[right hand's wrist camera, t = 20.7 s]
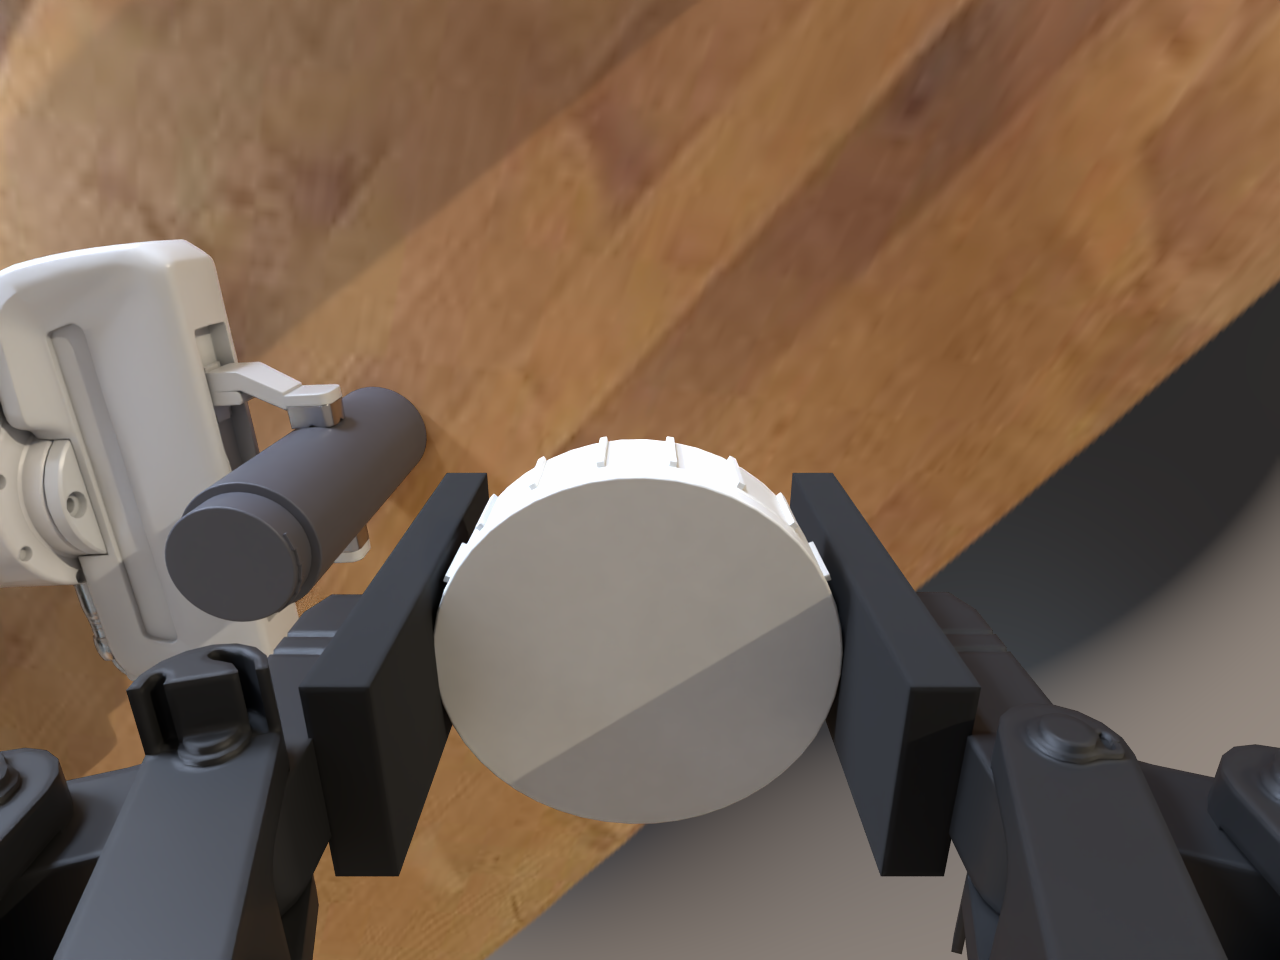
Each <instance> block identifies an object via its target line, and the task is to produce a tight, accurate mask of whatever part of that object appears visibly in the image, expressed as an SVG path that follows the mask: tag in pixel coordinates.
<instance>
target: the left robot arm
mask: <svg viewBox="0 0 1280 960" xmlns="http://www.w3.org/2000/svg"><path fill="white" fill-rule="evenodd" d="M254 397H256V398H258V399H261V400H263V401H265V402H268V403H270V404H272V405H275V406H277V407H279V408H282V409H284V410H286V411H288V415H289V419H290V423H291V427H292V429H302V428H308V427H310V426H311V425H314V426H316V427H321V428H325V427H331V426H334V425H337V424H338V423H339V422H340V420H344V419H345V412H344V406H343V400H342V393H341V389H340V385H337V384H326V385H302V383H301V382H299V381H297V380H295V379H293V378H291V377H289V376H287V375H285V374H283V373H281V372H279V371H277V370H275V369H273V368H271V367H269V366H267V365H265V364H263V363H261V362H241V363H238V360H237V356H236V351H235V347H234V343H233V339H232V335H231V330H230V326H229V322H228V318H227V314H226V309H225V305H224V301H223V297H222V293H221V288H220V284H219V280H218V275H217V270H216V267H215V263H214V261H213V259H212V258H211V257H210V256H209V255H208V254H207V253H205V252H204V251H203V250H201V249H199V248H198V247H196V246H194V245H193V244H191V243H190V242H188V241H186V240H182V239H179V240H161V241H148V242H137V243H128V244H120V245H111V246H103V247H94V248H88V249H82V250H75V251H70V252H65V253H59V254H54V255H50V256H45V257H41V258H37V259H33V260H29V261H25V262H22V263H18V264H15V265H12V266H10V267H7V268H5V269H3V270H1V271H0V588H4V587H31V586H56V585H74V588H75V591H76V593H77V596H78V599H79V602H80V605H81V607H82V610H83V612H84V614H85V615H86V617H87V619H88V621H89V623H90V625H91V628H92V631H93V634H94V635H93V640H94V644H95V647H96V650H97V651H98V653H99V655H100V656H101V657H102V659H103V660H105V661H112V662H113V664H114V665H115V666H116V667H117V668H118V669H119V670H120V671H121V672H123V673H124V674H125V675H127V677H128V678H129V679H130V680H131V681H135V680H136V679H137V677H138V676H139V675H141V674H142V673H144V672H145V671H147V670H148V669H150V668H151V667H153V666H154V665H156V664H158V663H159V662H161V661H163V660H165V659H168V658H170V657H173V656H175V655H177V654H180V653H182V652H185V651H188V650H192V649H196V648H200V647H205V646H209V645H214V644H232V643H238V644H243V645H248V646H253V647H256V648H258V649H259V650H260V651H262V652H263V653H264V654H265V655H267V657H268V656H269V655H270V654H273V653H274V649H275V648H276V646H277V645H278V644H279V643H280V641H281V640H282V639H283V638H284V637H287V633H288V631H289V630H290V629H291V628H292V626H293V625H294V624H295V623H296V621H297V620H298V619H299V616H298V612H297V608H296V604H295V602H294V603H292V604H290V605H288V606H287V607H286V608H284V609H283V610H282V611H281V612H277V613H275V614H273V615H271V616H269V617H266V618H263V619H260V620H256V621H249V622H236V621H229V620H224V619H220V618H217V617H214V616H212V615H209V614H207V613H206V612H204V611H202V610H200V609H199V608H197V607H196V606H194V605H193V604H192V603H190V602H189V601H188V600H187V599H186V598H185V597H184V596H183V595H182V594H181V593H180V592H179V590H178V589H177V588H176V586H175V585H174V583H173V582H172V580H171V578H170V575H169V573H168V570H167V567H166V562H165V545H166V541H167V538H168V535H169V533H170V531H171V529H172V528H173V526H174V525H175V524H176V522H178V521H179V520H180V519H181V517H182V514H183V512H184V510H185V508H186V507H187V505H188V504H189V503H190V501H191V500H192V499H193V498H194V497H195V496H196V495H198V494H199V493H201V492H202V491H203V490H205V489H206V488H208V487H209V486H211V485H212V484H214V483H215V482H217V481H218V480H220V479H221V478H223V477H224V476H226V475H227V474H229V473H230V472H232V471H233V470H235V469H236V468H238V467H239V466H241V465H242V464H244V463H245V462H247V461H249V460H250V459H252V458H253V457H255V456H256V455H258V454H259V453H260V452H259V448H258V444H257V440H256V436H255V431H254V427H253V423H252V419H251V414H250V410H249V406H248V402H247V401H249V400H250V399H252V398H254ZM370 549H371V546H370V541H369V535H368V530H367V525H365V526H364V527H363V528H362V530H361V531H360V532H359V533H358V534H357V535H356V537H355V538H354V539H353V540H352V541H351V543H350V544H349V545H348V546H347V547H346V548H345V550H344V551H343V552H342V553H341V554H340V556H339V557H338V558H337V559H336V560H335V562H334V563H347V562H355V561H358V560H361V559H363V558H364V557H365V555H366V554H367V553H368V551H369V550H370Z"/></svg>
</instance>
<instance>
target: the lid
mask: <svg viewBox="0 0 1280 960" xmlns="http://www.w3.org/2000/svg"><path fill="white" fill-rule="evenodd" d="M830 580H831V577H830V574H829V572H828V570H827V568H826V566H825V564H824V562H823V560H822V558H821V556H820V554H819V552H818V550H817V548H816V546H815V544H814V542H813V541H812V542H809V543H808V541H807V539H806V537H805V535H804V534H803V532H802V530H801V528H800V527H799V525H798V523H797V522H796V520H795V517H794V515H793V513H792V511H791V509H790V507H789V505H788V503H787V501H786V499H785V497H784V496H783V495H782V493H779V494H778V495H777V496H776V495H775V494H774V493H773V492H772V491H771V490H770V489H769V488H768V487H767V486H765V485H764V484H763V483H762V482H761V481H759V480H758V479H757V478H755V477H754V476H753V475H751V474H750V473H748V472H747V471H746V470H744V469H743V468H741V467H739V466H738V463H737V461H736V459H735V458H733V457H731V456H729V458H728V460H726V459H724V458H722V457H720V456H717V455H715V454H712V453H709V452H707V451H704V450H701V449H699V448H695V447H691V446H687V445H682V444H678V443H675V442H674V437H667V438H666V441H657V440H647V439H643V440H617V441H610V442H608V439H607V437H602V438H600V441H599V443H596V444H592V445H589V446H585V447H581V448H578V449H574V450H571V451H568V452H566V453H563V454H561V455H559V456H556V457H554V458H552V459H549V460H546V459H545V457H542V458H540V459H538V462H537V464H536V467H535V468H533V469H532V470H530V471H528V472H527V473H525V474H524V475H523V476H521V477H520V478H519V479H518V480H516V481H515V482H514V483H513V484H511V485H510V486H509V487H507V488H506V490H505V491H504V492H503V493H502V494H501V495H500V496H499V497H498V496H496V495H495V494H493V495H492V496H491V497H490V499H489V501H488V503H487V505H486V507H485V509H484V511H483V513H482V515H481V517H480V519H479V521H478V523H477V525H476V527H475V530H474V532H473V533H472V535H471V537H470V539H469V541H468V543H467V544H465V543H462V544H461V546H460V548H459V550H458V552H457V554H456V555H455V557H454V559H453V561H452V563H451V565H450V567H449V569H448V571H447V573H446V575H445V577H444V580H443V581H444V582H447V585H446V587H445V590H444V592H443V595H442V598H441V601H440V604H439V607H438V610H437V614H436V620H435V626H434V634H433V636H434V647H435V656H436V664H437V673H438V682H439V689H440V696H441V700H442V703H443V705H444V707H445V710H446V712H447V714H448V716H449V718H450V720H451V722H452V724H453V726H454V728H455V729H456V731H457V732H458V734H459V735H460V737H461V738H462V740H463V741H464V743H465V744H466V745H467V746H468V748H469V749H470V750H471V751H472V752H473V753H474V755H475V756H476V757H477V758H478V759H479V760H480V761H481V762H482V763H483V764H484V765H485V766H486V767H487V768H488V769H489V770H491V771H492V772H493V773H494V774H495V775H496V776H497V777H499V778H500V779H501V780H503V781H504V782H506V783H507V784H509V785H510V786H511V787H513V788H514V789H516V790H517V791H519V792H521V793H523V794H525V795H526V796H528V797H530V798H532V799H534V800H535V801H537V802H540V803H542V804H545V805H547V806H549V807H552V808H554V809H557V810H559V811H563V812H566V813H569V814H573V815H576V816H579V817H584V818H589V819H594V820H599V821H605V822H616V823H628V824H640V823H660V822H669V821H677V820H682V819H687V818H691V817H695V816H700V815H704V814H707V813H710V812H713V811H716V810H719V809H722V808H724V807H727V806H729V805H731V804H733V803H735V802H738V801H740V800H742V799H744V798H746V797H748V796H749V795H751V794H753V793H755V792H756V791H758V790H760V789H761V788H763V787H764V786H766V785H767V784H769V783H770V782H771V781H773V780H774V779H775V778H777V777H778V776H779V775H780V774H782V773H783V772H784V771H785V770H786V769H787V768H788V767H789V766H790V765H792V764H793V763H794V762H795V761H796V760H797V759H798V758H799V757H800V756H801V755H802V753H803V752H804V751H805V749H806V748H807V747H808V746H809V744H810V743H811V742H812V740H813V739H814V738H815V736H816V735H817V733H818V731H819V730H820V728H821V726H822V725H823V723H824V721H825V719H826V718H827V715H828V713H829V710H830V708H831V706H832V703H833V701H834V698H835V695H836V691H837V687H838V683H839V679H840V675H841V667H842V656H843V645H842V629H841V624H840V619H839V615H838V610H837V606H836V603H835V601H834V598H833V595H832V593H831V590H830V588H829V585H828V583H827V581H830Z"/></svg>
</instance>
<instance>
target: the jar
mask: <svg viewBox="0 0 1280 960" xmlns="http://www.w3.org/2000/svg"><path fill="white" fill-rule="evenodd" d="M342 400H343V406H344V412H345V419H344V420H340V422H339V423H338V424H337V425H334V426H331V427H325V428H321V427H316V426H314V425H311V426H310V427H308V428H302V429H295V430H294V431H292V432H291V433H289V434H288V435H286V436H285V437H283V438H282V439H280V440H279V441H277V442H276V443H274V444H273V445H271V446H270V447H268V448H267V449H265V450H264V451H262V452H261V453H259V454H258V455H256V456H255V457H253V458H252V459H250V460H249V461H247V462H245V463H244V464H242V465H241V466H239V467H238V468H236V469H235V470H233V471H232V472H230V473H229V474H227V475H226V476H224V477H223V478H221V479H220V480H218V481H217V482H215V483H214V484H212V485H211V486H209V487H208V488H206V489H205V490H203V491H202V492H201V493H199V494H198V495H196V496H195V497H194V498H193V499H192V500H191V501H190V503H189V504H188V505H187V507H186V508H185V510H184V512H183V514H182V517H181V519H180V520H179V521H178V522H176V524H175V525H174V526H173V528H172V529H171V531H170V533H169V535H168V538H167V541H166V545H165V562H166V567H167V570H168V573H169V575H170V578H171V580H172V582H173V583H174V585H175V586H176V588H177V589H178V590H179V592H180V593H181V594H182V595H183V596H184V597H185V598H186V599H187V600H188V601H189V602H190V603H192V604H193V605H194V606H196V607H197V608H199V609H200V610H202V611H204V612H206V613H207V614H209V615H212V616H214V617H217V618H220V619H224V620H229V621H236V622H249V621H256V620H260V619H263V618H266V617H269V616H271V615H273V614H275V613H277V612H281V611H282V610H283V609H284V608H286V607H287V606H288V605H290V604H292V603H294V602H296V601H298V600H299V599H301V598H303V597H304V596H305V595H306V594H307V593H308V592H309V591H310V590H311V589H312V588H313V586H314V585H315V584H316V583H317V582H318V580H319V579H320V578H321V577H322V576H323V575H324V573H325V572H326V571H327V570H328V569H329V567H330V566H331V565H332V564H333V563H334V562H335V560H336V559H337V558H338V557H339V556H340V554H341V553H342V552H343V551H344V550H345V548H346V547H347V546H348V545H349V544H350V543H351V541H352V540H353V539H354V538H355V537H356V535H357V534H358V533H359V532H360V531H361V530H362V528H363V527H364V526H365V525H366V524H367V522H368V521H369V520H370V519H371V518H372V517H373V515H374V514H375V513H376V512H377V511H378V509H379V508H380V507H381V506H382V505H383V503H384V502H385V501H386V500H387V499H388V498H389V496H390V495H391V494H392V493H393V492H394V490H395V489H396V488H397V487H398V486H399V485H400V483H401V482H402V481H403V480H404V479H405V477H406V476H407V475H408V474H409V473H410V472H411V470H412V469H413V468H414V467H415V466H416V464H417V463H418V462H419V461H420V459H421V457H422V456H423V453H424V451H425V447H426V429H425V425H424V422H423V420H422V417H421V415H420V414H419V412H418V411H417V409H416V408H415V407H414V406H413V405H412V404H411V403H410V402H409V401H408V400H407V399H406V398H405V397H403V396H401V395H400V394H398V393H396V392H394V391H392V390H388V389H385V388H380V387H366V388H361V389H358V390H355V391H353V392H351V393H349V394H348V395H346V396H345V397H343V398H342Z"/></svg>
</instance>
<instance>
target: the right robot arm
mask: <svg viewBox="0 0 1280 960" xmlns="http://www.w3.org/2000/svg"><path fill="white" fill-rule="evenodd" d="M488 501H489V493H488V481H487V473H447V474H446V475H445V477H444V478H443V479H442V481H441V482H440V484H439V485H438V487H437V488H436V489H435V491H434V492H433V494H432V495H431V497H430V498H429V500H428V501H427V502H426V504H425V505H424V507H423V508H422V510H421V511H420V513H419V514H418V515H417V517H416V518H415V520H414V521H413V523H412V524H411V525H410V527H409V528H408V530H407V531H406V533H405V534H404V536H403V537H402V538H401V540H400V541H399V543H398V544H397V546H396V547H395V549H394V550H393V551H392V553H391V554H390V556H389V557H388V559H387V560H386V561H385V563H384V564H383V566H382V567H381V569H380V570H379V572H378V573H377V574H376V576H375V577H374V579H373V580H372V582H371V583H370V584H369V586H368V587H367V589H366V590H365V592H364V593H363V595H330V596H329V597H327V598H325V599H324V600H322V601H321V602H319V603H318V604H316V605H315V606H313V607H311V608H310V609H308V610H307V611H305V612H304V613H303V614H302V615H301V617H300V618H299V619H298V620H297V621H296V623H295V624H294V625H293V626H292V628H291V629H290V630H289V631H288V633H287V637H284V638H283V639H282V640H281V641H280V643H279V644H278V645H277V646H276V648H275V649H274V653H273V654H270V655H269V656H268V657H267V655H265V654H264V653H263V652H262V651H260V650H259V649H258V648H256V647H253V646H248V645H243V644H238V643H232V644H214V645H209V646H205V647H200V648H196V649H192V650H188V651H185V652H182V653H180V654H177V655H175V656H173V657H170V658H168V659H165V660H163V661H161V662H159V663H158V664H156V665H154V666H153V667H151V668H150V669H148V670H147V671H145V672H144V673H142V674H141V675H139V676H138V677H137V679H136V680H135V681H134V682H133V683H132V684H131V685H130V687H129V688H128V689H127V690H126V691H127V695H128V698H129V701H130V705H131V708H132V711H133V715H134V718H135V722H136V725H137V728H138V732H139V735H140V738H141V742H142V745H143V748H144V752H145V758H144V760H143V762H142V764H140V765H136V766H132V767H129V768H124V769H120V770H115V771H110V772H106V773H101V774H96V775H91V776H87V777H82V778H77V779H73V780H68V781H66V780H65V777H64V774H63V771H62V768H61V766H60V763H59V760H58V758H56V757H55V756H54V755H52V754H51V753H49V752H48V751H47V750H40V749H31V748H21V749H14V750H7V751H1V752H0V960H312V959H313V950H314V942H315V933H316V924H317V915H318V906H319V904H318V897H317V890H316V885H315V880H314V876H313V873H314V871H315V869H316V867H317V865H318V863H319V861H320V859H321V856H322V854H323V852H324V850H325V848H326V846H327V844H328V842H329V845H330V850H331V855H332V860H333V866H334V871H335V876H399V874H400V871H401V868H402V865H403V863H404V860H405V857H406V854H407V851H408V848H409V846H410V843H411V840H412V837H413V834H414V832H415V829H416V826H417V823H418V820H419V817H420V815H421V812H422V809H423V806H424V803H425V800H426V798H427V795H428V792H429V789H430V786H431V783H432V781H433V778H434V775H435V772H436V769H437V767H438V764H439V761H440V758H441V755H442V752H443V750H444V747H445V744H446V741H447V738H448V735H449V733H450V730H451V727H452V722H451V720H450V718H449V716H448V714H447V712H446V710H445V707H444V705H443V703H442V700H441V696H440V689H439V682H438V673H437V664H436V656H435V647H434V636H433V634H434V626H435V620H436V614H437V610H438V607H439V604H440V601H441V598H442V595H443V592H444V590H445V587H446V585H447V582H444V581H443V580H444V577H445V575H446V573H447V571H448V569H449V567H450V565H451V563H452V561H453V559H454V557H455V555H456V554H457V552H458V550H459V548H460V546H461V544H462V543H465V544H467V543H468V541H469V539H470V537H471V535H472V533H473V532H474V530H475V527H476V525H477V523H478V521H479V519H480V517H481V515H482V513H483V511H484V509H485V507H486V505H487V503H488ZM790 509H791V511H792V513H793V515H794V517H795V520H796V522H797V523H798V525H799V527H800V528H801V530H802V532H803V534H804V535H805V537H806V539H807V541H808V543H809V542H812V541H813V542H814V544H815V546H816V548H817V550H818V552H819V554H820V556H821V558H822V560H823V562H824V564H825V566H826V568H827V570H828V572H829V574H830V577H831V580H830V581H827V583H828V585H829V588H830V590H831V593H832V595H833V598H834V601H835V603H836V606H837V610H838V615H839V619H840V624H841V629H842V645H843V656H842V667H841V675H840V679H839V683H838V687H837V691H836V695H835V698H834V701H833V703H832V706H831V708H830V710H829V713H828V715H827V718H826V719H825V720H826V723H827V725H828V728H829V731H830V734H831V737H832V740H833V742H834V745H835V748H836V751H837V753H838V756H839V759H840V762H841V765H842V768H843V771H844V773H845V776H846V779H847V782H848V785H849V788H850V790H851V793H852V796H853V799H854V802H855V805H856V807H857V810H858V813H859V816H860V818H861V822H862V824H863V827H864V830H865V833H866V836H867V838H868V841H869V844H870V847H871V850H872V853H873V855H874V858H875V861H876V864H877V867H878V870H879V872H880V875H881V876H944V873H945V868H946V863H947V858H948V853H949V848H950V843H951V839H952V841H953V843H954V845H955V847H956V849H957V851H958V854H959V856H960V858H961V860H962V862H963V864H964V866H965V868H966V870H967V876H966V881H965V885H964V890H963V895H962V899H961V904H960V909H959V913H958V918H957V923H956V928H955V932H954V938H953V944H952V952H955V953H959V954H962V950H963V946H964V941H965V940H966V948H967V957H968V960H1280V748H1276V747H1269V746H1263V745H1256V744H1255V745H1246V746H1237V747H1233V748H1232V749H1230V750H1229V751H1228V752H1226V753H1225V754H1224V755H1222V758H1221V761H1220V764H1219V767H1218V769H1217V772H1216V775H1215V778H1214V777H1209V776H1204V775H1199V774H1194V773H1189V772H1185V771H1180V770H1176V769H1171V768H1166V767H1161V766H1157V765H1152V764H1148V763H1145V762H1141V761H1138V760H1137V759H1136V756H1135V754H1134V753H1133V752H1132V750H1131V749H1130V748H1129V746H1128V745H1127V744H1126V742H1125V741H1124V739H1123V738H1122V737H1120V736H1119V735H1118V734H1116V733H1115V732H1114V731H1112V730H1111V729H1110V728H1108V727H1107V726H1106V725H1104V724H1103V723H1101V722H1099V721H1097V720H1095V719H1093V718H1091V717H1089V716H1087V715H1085V714H1082V713H1080V712H1078V711H1075V710H1071V709H1067V708H1063V707H1060V706H1056V705H1053V704H1052V703H1051V702H1050V700H1049V699H1048V698H1047V697H1046V695H1045V694H1044V693H1043V692H1042V690H1041V689H1040V688H1039V687H1038V686H1037V684H1036V683H1035V682H1034V681H1033V679H1032V678H1031V677H1030V676H1029V674H1028V673H1027V672H1026V671H1025V670H1024V668H1023V667H1022V666H1021V665H1020V663H1019V662H1018V661H1017V660H1016V658H1015V657H1014V656H1013V655H1012V654H1011V652H1007V650H1006V646H1005V645H1004V644H1003V642H1002V641H1001V640H1000V639H999V638H998V636H997V635H996V634H993V630H992V629H991V628H990V626H989V625H988V624H987V623H986V621H985V620H984V619H983V618H982V617H981V615H980V614H979V613H978V612H977V610H976V609H974V608H972V607H971V606H969V605H968V604H966V603H965V602H963V601H961V600H960V599H958V598H957V597H955V596H954V595H952V594H950V593H949V592H915V591H914V590H913V588H912V587H911V585H910V584H909V582H908V581H907V579H906V578H905V577H904V575H903V574H902V572H901V571H900V569H899V568H898V566H897V565H896V564H895V562H894V561H893V559H892V558H891V556H890V555H889V554H888V552H887V551H886V549H885V548H884V546H883V545H882V543H881V542H880V541H879V539H878V538H877V536H876V535H875V533H874V532H873V530H872V529H871V528H870V526H869V525H868V523H867V522H866V520H865V519H864V518H863V516H862V515H861V513H860V512H859V510H858V509H857V507H856V506H855V505H854V503H853V502H852V500H851V499H850V497H849V496H848V494H847V493H846V492H845V490H844V489H843V487H842V486H841V484H840V483H839V482H838V480H837V479H836V477H835V476H834V474H833V473H793V475H792V488H791V500H790Z"/></svg>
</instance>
